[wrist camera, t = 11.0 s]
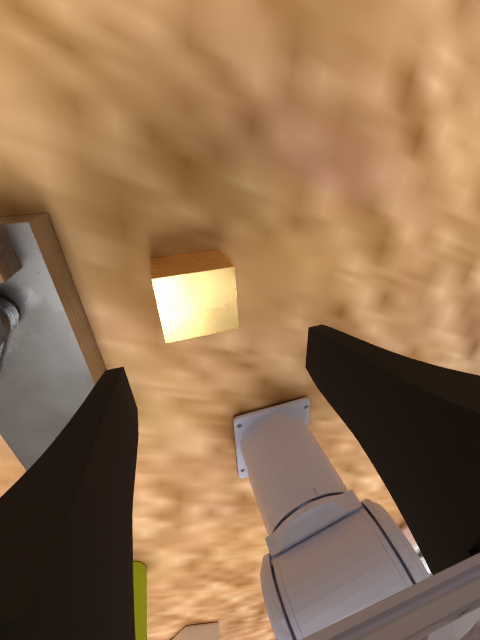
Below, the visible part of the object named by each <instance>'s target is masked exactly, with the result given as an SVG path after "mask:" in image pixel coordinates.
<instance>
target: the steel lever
mask: <svg viewBox="0 0 480 640" xmlns="http://www.w3.org/2000/svg"><path fill="white" fill-rule="evenodd" d="M18 323H19V314H18V311H17V309H16V308H15V307H14V306H13V305H12V304H11V303H10V302H9V301H7V300H6V299H4V298H2V297H0V357H1V353H2V349H3V345H4V341H5V340H6V339H7V338H8V336H9V335H10V334H11V333H12V331H13V330H14V329H15V328H16V326H17V325H18Z"/></svg>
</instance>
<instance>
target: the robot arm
mask: <svg viewBox="0 0 480 640" xmlns="http://www.w3.org/2000/svg"><path fill="white" fill-rule="evenodd" d="M306 369H307V371H308V372H309V374H310V376H311V378H312V380H313V381H314V383H315V385H316V386H317V388H318V389H319V390H320V392H321V393H322V394H323V396H324V397H325V398H326V400H327V401H328V402H329V403H330V405H331V406H332V407H333V409H334V410H335V411H336V412H337V414H338V415H339V416H340V418H341V419H342V420H343V421H344V423H345V424H346V425H347V426H348V428H349V429H350V430H351V432H352V433H353V434H354V436H355V437H356V439H357V440H358V442H359V443H360V445H361V446H362V448H363V449H364V451H365V453H366V454H367V456H368V457H369V459H370V460H371V462H372V464H373V465H374V467H375V469H376V470H377V472H378V474H379V475H380V477H381V479H382V480H383V482H384V484H385V486H386V487H387V489H388V491H389V492H390V494H391V496H392V498H393V500H394V501H395V503H396V505H397V507H398V509H399V511H400V512H401V514H402V516H403V518H404V520H405V521H406V523H407V525H408V527H409V529H410V531H411V533H412V535H413V537H414V539H415V541H416V543H417V545H418V547H419V549H420V551H421V552H422V555H423V557H424V559H425V561H426V563H427V565H428V567H429V569H430V571H431V573H432V574H433V576H431V577H430V576H429V574H428V572H427V570H426V568H425V567H424V565H423V563H422V561H421V560H420V558H419V556H418V555H417V553H416V552H415V550H414V549H413V547H412V545H411V544H410V542H409V541H408V539H407V538H406V536H405V535H404V534H403V532H402V531H401V529H400V528H399V526H398V525H397V524H396V522H395V521H394V520H393V519H392V517H391V516H390V515H389V514H388V512H387V511H386V510H385V509H384V508H383V507H382V506H381V505H380V504H378V503H375V502H373V501H371V500H370V499H364V500H363V501H361V502H360V501H359V499H358V498H357V496H356V495H355V493H354V491H353V490H350V491H348V489H347V487H346V486H345V484H344V483H343V481H342V480H341V478H340V476H339V475H338V473H337V472H336V470H335V468H334V467H333V465H332V464H331V462H330V460H329V459H328V457H327V456H326V454H325V452H324V451H323V449H322V448H321V446H320V445H319V443H318V441H317V440H316V438H315V437H314V435H313V433H312V432H311V430H310V429H309V427H308V422H309V412H310V400H309V398H307V397H306V398H301V399H298V400H294V401H290V402H287V403H283V404H279V405H276V406H272V407H269V408H265V409H261V410H258V411H254V412H250V413H247V414H243V415H239V416H236V417H235V418H234V419H233V426H234V436H235V447H236V458H237V468H238V476H239V478H241V479H242V478H246V477H249V480H250V483H251V486H252V489H253V492H254V495H255V498H256V501H257V504H258V507H259V510H260V513H261V516H262V519H263V522H264V525H265V528H266V530H267V533H268V534H269V536H267V537H266V538H265V539H266V542H267V546H268V549H269V552H270V553H268V554H266V555H265V556H264V557H263V560H262V567H261V571H260V580H261V587H262V592H263V597H264V601H265V605H266V609H267V612H268V616H269V619H270V622H271V625H272V628H273V631H274V634H275V637H276V640H480V620H479V621H477V622H476V623H475V625H474V626H473V627H472V629H471V630H470V631H469V632H468V633H467V634H466V635H464V637H462V638H460V637H459V635H458V634H457V633H458V631H457V626H456V624H455V622H454V621H455V620H457V619H459V618H460V617H462V616H464V615H466V614H467V613H470V612H471V611H473V610H475V609H477V608H479V607H480V376H479V375H474V374H469V373H465V372H460V371H456V370H451V369H447V368H443V367H439V366H435V365H432V364H428V363H425V362H422V361H418V360H415V359H411V358H408V357H405V356H402V355H399V354H397V353H394V352H391V351H388V350H385V349H383V348H380V347H378V346H375V345H373V344H370V343H368V342H365V341H363V340H360V339H358V338H355V337H353V336H351V335H348V334H346V333H343V332H341V331H338V330H336V329H333V328H331V327H328V326H325V325H318V326H313V327H309V330H308V342H307V355H306ZM238 424H239V425H238ZM137 447H138V412H137V406H136V403H135V400H134V397H133V394H132V391H131V388H130V385H129V382H128V379H127V376H126V373H125V370H124V367H120V368H115V369H110V370H106V371H104V373H103V374H102V376H101V377H100V378H99V380H98V381H97V383H96V384H95V386H94V387H93V389H92V390H91V392H90V393H89V394H88V396H87V397H86V399H85V400H84V402H83V403H82V404H81V406H80V407H79V409H78V410H77V411H76V413H75V414H74V415H73V417H72V418H71V420H70V421H69V422H68V423H67V425H66V426H65V427H64V429H63V430H62V431H61V432H60V434H59V435H58V436H57V437H56V439H55V440H54V441H53V442H52V444H51V445H50V446H49V447H48V448H47V449H46V451H45V452H44V453H43V454H42V455H41V456H40V457H39V459H38V460H37V461H36V462H35V463H34V464H33V465H32V466H31V467H30V468H29V469H28V470H27V471H26V473H25V474H24V475H23V476H22V477H21V478H20V479H19V480H18V481H17V482H16V483H15V484H14V485H13V486H12V487H11V488H10V489H9V490H8V491H7V492H6V493H5V494H4V495H3V496H1V497H0V640H136V639H135V614H134V587H133V538H132V510H133V493H134V482H135V470H136V459H137Z"/></svg>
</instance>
